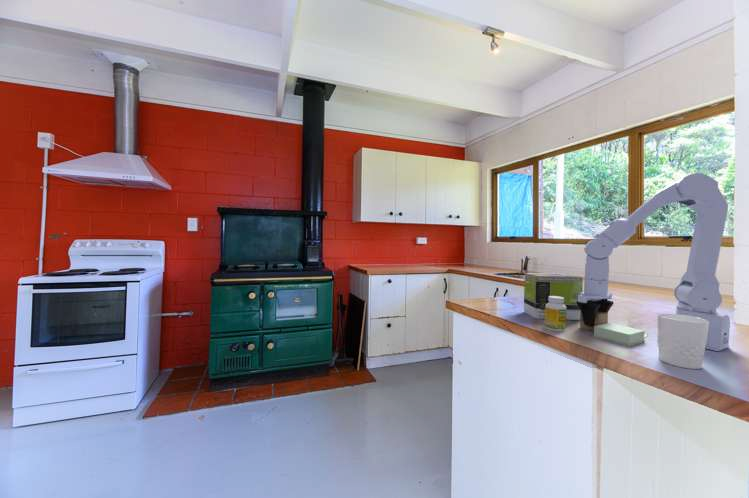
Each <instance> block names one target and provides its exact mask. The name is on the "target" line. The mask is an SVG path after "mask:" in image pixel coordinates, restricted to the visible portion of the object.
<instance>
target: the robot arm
mask: <svg viewBox="0 0 749 498" xmlns="http://www.w3.org/2000/svg"><path fill="white" fill-rule="evenodd" d="M673 203H679V204H681V205H685V206H687V208H689V209H691V210H692V211H693V212H694V213H696V219H695V223H694V229H693V234H692V240H691V245H690V250H689V257H688V259H687V260H688V261H687V265H686V266H687V267H686V271H685V272H684V273H683V274H682V276H681V279H680V283H678V285H677V286H675V288H674V289H673V296H674V297H675V299H676V300H677V301H678V303H677V304H676V309H675V310H676V311H675V314H678V315H686V316H692V317H697V318H701V319H704V320H707V321H709V326H708V333H707V341H706V347H705V350H711V351H716V352H720V351H723V350H725V349H727V348H730V344H729V342H730V341H729V340H730V327H731V320H730V316H729V315H728V314H724V313H720V312H717V309H718V308H719V307H721V305H722V302H723V297H722V294H721V293H720V282H719V280H718V278H717V277H716V273H717V267H718V262H719V258H720V257H719V256H720V251H721V246H722V242H723V238H724V237H723V236H724V231H725V228H726V227H725V226H726V220H727V215H728V210H729V205H728V204H729V203H728V202H727V201H726V198H725V197H724V195H723V193H722V192H721V190H720V188H719V181H717V180H716V179H715V178H712V176H709V175H708V174H705V173H702V172H700V173H699V172H694V173H690V174H688V175H686V176H684V177H683V178H679V179H676V180H673V181H672V182H671V183H669V184H668V185H667V186H665V187H664V188H662V189H660V190H659V191H657V192H656V193H654V194H653V195H652V196H651V197H650V198H648V199H647V200H646V201H645V202H644V203H643V204H641V206H639V207H638V208H637V209H635V210H634V211H632V213H631V214H630V215H628V216H627V218H618V219H616V220H612V221H610V222H609V223H608V225H609V226H607V227H606V228H605V229H604V230H602V231H601V232H600V233H596V234H594V237H595V238H594V239H592V240H589V241H588V242H587V243H586V244H585V247H584V252H585V255H586V257H585V265H584V287H583V291H582V292H580V294H581V295H578V300H577V305H578V306H579V308H580V310H581V313H582V316H583V321H584V325H587V326H591V327H593V325H594V322H595V317H596V313H597V311H599V312H605V313H608V314H609V311H610V309H611V308H612V306H613V305H614V303H615V302H614V301H613V293H612V292H609V278H610V276H609V272H610V264H609V263H610V262H609V260H610V259H609V258H610V256H611V255H612V253H613V250H614V249H617V248H619V246H621V245H622V244H623V243H625V242H626V241H627V240H629V239H630V238H631V237H632V236H634V235H635V234H636V233H637V226H639V225H640V224H641V223H642V222H644V221H645V220H646V219H648V218H649V217H651V216H653V214H655V213H656V212H658V210H661V208H663V207H664V206H666V205H667V206H668V205H669V204H673Z"/></svg>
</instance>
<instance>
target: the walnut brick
mask: <svg viewBox="0 0 749 498" xmlns="http://www.w3.org/2000/svg"><path fill="white" fill-rule="evenodd" d="M607 323H609V312H608V313H605V312H599V311H597V313H596V317H595V322H594V325H593V327H591V326H587V325H584V321H583V316H582V313H581V311H580V320H579V326H580V327H579V328H580V329H583V330H587V331H592V332H594V326H597V325H602V324H607Z"/></svg>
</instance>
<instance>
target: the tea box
mask: <svg viewBox="0 0 749 498" xmlns="http://www.w3.org/2000/svg"><path fill="white" fill-rule="evenodd" d="M523 284H524V288H523V290H524V292H523V312H524V313H525V314H526V315H529V316H530V317H532V318H533V319H540V320H541V319H542V320H545V307H546V304H547V303H549V301H548V297H549V296H559V297H563V298H564V303H563V304H564V305H565V306H566V321H570V320H571V321H580V311H581V310H580V308H579V306H578V305H577V300H578V295H581V294H580V292H583V276H578V275H574V274H570V273H569V274H568V273H552V272H551V273H550V272H549V273H547V272H543V273H542V272H541V273H540V272H538V273H537V272H534V273H533V272H525V273H524V283H523Z"/></svg>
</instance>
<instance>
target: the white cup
mask: <svg viewBox="0 0 749 498" xmlns="http://www.w3.org/2000/svg"><path fill="white" fill-rule="evenodd" d="M656 315H657V316H656V317H657V347H658V360H660V361H661V362H662V363H666V364H667V365H671V366H676V367H679V368H684V369H691V370H701V369H702V368H703V362H704V361H703V360H704V356H705V353H706V348H705V347H706V341H707V333H708V326H709V321H707V320H704V319H701V318H697V317H692V316H686V315H678V314H676V313H664V312H663V313H657V314H656Z"/></svg>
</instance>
